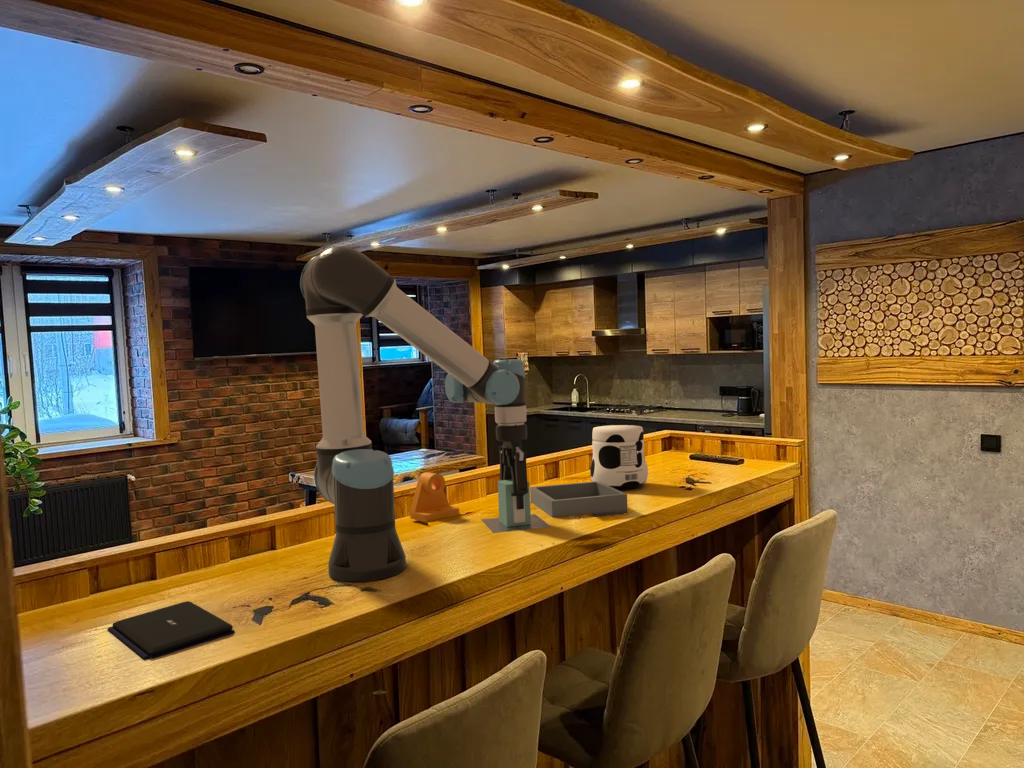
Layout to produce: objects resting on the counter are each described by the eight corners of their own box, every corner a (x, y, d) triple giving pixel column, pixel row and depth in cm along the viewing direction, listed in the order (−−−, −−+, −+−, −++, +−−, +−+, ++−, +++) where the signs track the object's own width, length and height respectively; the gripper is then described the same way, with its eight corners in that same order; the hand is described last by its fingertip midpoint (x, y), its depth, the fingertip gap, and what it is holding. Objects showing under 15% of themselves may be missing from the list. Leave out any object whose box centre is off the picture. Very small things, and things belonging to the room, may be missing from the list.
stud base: (493, 537, 163) (492, 511, 163) (481, 523, 177) (480, 499, 177) (551, 531, 167) (550, 505, 166) (535, 518, 180) (534, 494, 180)
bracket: (426, 526, 177) (423, 478, 176) (410, 521, 183) (408, 475, 182) (461, 518, 184) (459, 472, 183) (445, 514, 189) (443, 469, 189)
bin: (552, 521, 176) (551, 501, 176) (530, 505, 196) (530, 487, 195) (627, 513, 181) (627, 494, 181) (599, 498, 200) (598, 481, 200)
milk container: (607, 479, 229) (605, 424, 228) (657, 483, 219) (655, 425, 218) (580, 489, 215) (578, 430, 214) (632, 494, 205) (630, 431, 204)
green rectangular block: (507, 526, 168) (505, 484, 168) (499, 521, 174) (497, 480, 173) (530, 524, 170) (529, 482, 169) (522, 518, 176) (520, 478, 175)
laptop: (123, 670, 101) (122, 656, 101) (105, 629, 117) (104, 617, 117) (238, 640, 110) (238, 627, 110) (207, 605, 126) (207, 594, 126)
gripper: (540, 426, 163) (543, 526, 164) (513, 419, 181) (516, 509, 182) (509, 428, 161) (512, 529, 162) (484, 421, 179) (488, 513, 180)
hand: (514, 519), depth 172 cm, fingers closed on green rectangular block, 6 cm apart
